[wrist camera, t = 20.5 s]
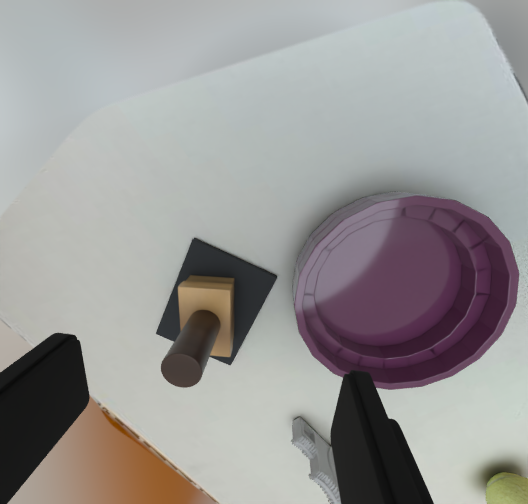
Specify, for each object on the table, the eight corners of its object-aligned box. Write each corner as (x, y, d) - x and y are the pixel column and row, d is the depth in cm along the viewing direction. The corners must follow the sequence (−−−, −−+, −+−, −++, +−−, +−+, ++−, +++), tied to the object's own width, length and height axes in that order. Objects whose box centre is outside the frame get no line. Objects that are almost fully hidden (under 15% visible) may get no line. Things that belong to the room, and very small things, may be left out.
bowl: (350, 157, 22) (366, 154, 18) (518, 243, 24) (571, 259, 19) (264, 315, 27) (261, 342, 23) (406, 378, 29) (428, 415, 24)
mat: (194, 237, 25) (192, 238, 25) (277, 275, 26) (277, 277, 26) (157, 331, 29) (155, 333, 28) (231, 362, 30) (230, 365, 29)
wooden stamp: (188, 273, 26) (143, 324, 17) (236, 276, 26) (213, 330, 17) (191, 335, 28) (152, 406, 20) (235, 338, 28) (215, 412, 19)
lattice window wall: (289, 419, 32) (291, 473, 26) (301, 412, 31) (305, 466, 26) (348, 475, 34) (361, 536, 28) (359, 469, 33) (375, 530, 28)
